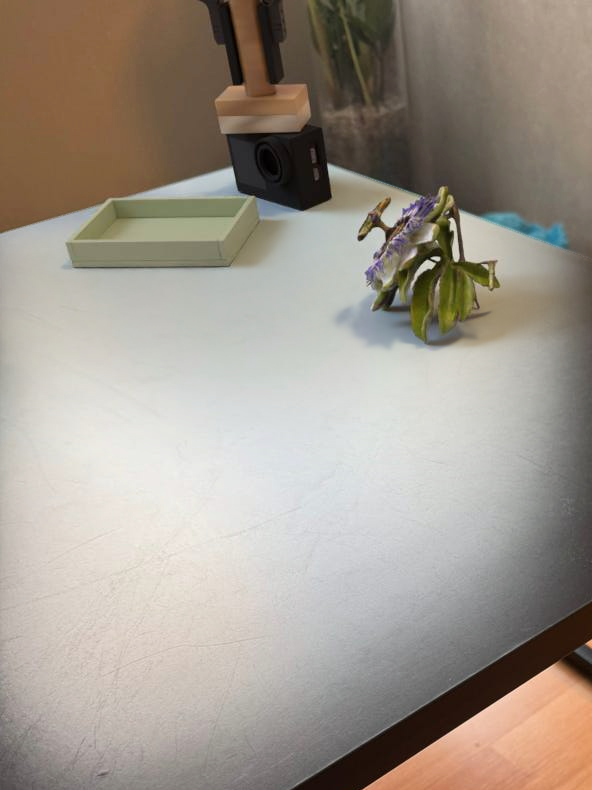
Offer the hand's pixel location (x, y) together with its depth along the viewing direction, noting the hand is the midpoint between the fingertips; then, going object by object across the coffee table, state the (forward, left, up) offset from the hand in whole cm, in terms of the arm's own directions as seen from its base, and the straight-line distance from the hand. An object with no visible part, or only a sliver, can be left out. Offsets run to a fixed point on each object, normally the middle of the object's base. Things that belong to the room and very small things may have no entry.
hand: (258, 80), depth 98 cm
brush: (0, 0, -4) cm, 4 cm away
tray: (-8, -12, -11) cm, 18 cm away
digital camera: (0, 0, -11) cm, 11 cm away
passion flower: (+20, -27, -11) cm, 35 cm away
